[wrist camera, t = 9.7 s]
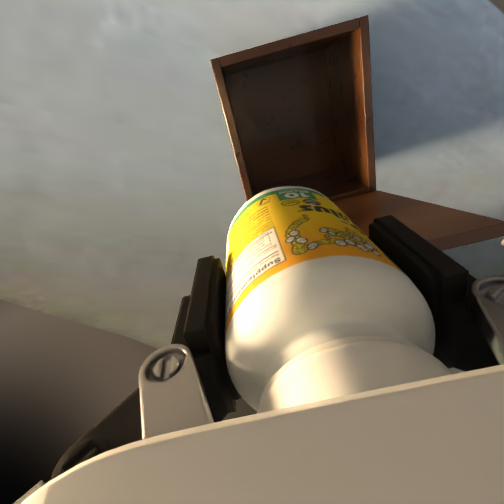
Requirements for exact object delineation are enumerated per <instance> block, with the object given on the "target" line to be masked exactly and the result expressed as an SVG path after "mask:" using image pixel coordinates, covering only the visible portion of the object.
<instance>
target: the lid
mask: <svg viewBox="0 0 504 504" xmlns="http://www.w3.org/2000/svg"><path fill="white" fill-rule="evenodd" d="M333 203H334V204H335V205H336V206H337V207H338V208H339V209H340V210H341V211H342V212H343V213H344V214H345V215H346V216H347V217H348V218H349V219H350V220H351V221H352V222H353V223H354V224H355V225H356V226H357V227H358V228H359V229H360V230H361V231H362V232H363V233H364V234H365V235H367V237H368V238H369V224H370V223H373V220H374V219H375V218H379V217H383V216H388V215H392V216H394V217H395V218H396V219H398V220H399V221H400V222H402V223H403V224H405V225H406V226H407V227H409V228H410V229H411V230H413V231H414V232H416V233H417V234H418V235H420V236H421V237H422V238H424V239H425V240H427V241H428V242H429V243H431V244H432V245H433V246H435V247H436V248H438V249H439V250H440V251H442V250H446V249H451V248H455V247H459V246H463V245H468V244H472V243H476V242H481V241H485V240H489V239H494V238H498V237H502V236H504V221H502V220H498V219H494V218H490V217H486V216H482V215H477V214H473V213H469V212H465V211H461V210H457V209H453V208H448V207H444V206H440V205H436V204H432V203H428V202H423V201H419V200H415V199H411V198H407V197H403V196H398V195H394V194H390V193H386V192H382V191H378V190H377V191H373V192H369V193H365V194H361V195H357V196H353V197H349V198H345V199H341V200H337V201H333Z"/></svg>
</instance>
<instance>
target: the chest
mask: <svg viewBox="0 0 504 504" xmlns="http://www.w3.org/2000/svg"><path fill="white" fill-rule="evenodd" d="M210 61H211V65H212V69H213V73H214V77H215V81H216V84H217V88H218V92H219V96H220V100H221V104H222V107H223V111H224V115H225V119H226V123H227V127H228V131H229V134H230V138H231V142H232V146H233V150H234V154H235V157H236V161H237V165H238V169H239V173H240V177H241V181H242V184H243V188H244V192H245V196H246V200H247V201H248V200H250V199H251V198H252V197H254V196H255V195H257V194H258V193H261V192H263V191H265V190H268V189H272V188H276V187H283V186H297V187H306V188H310V189H313V190H316V191H318V192H320V193H321V194H323V195H325V196H326V197H327V198H329V199H330V200H331V201H332V202H333V201H337V200H341V199H345V198H349V197H353V196H357V195H361V194H365V193H369V192H373V191H376V175H375V153H374V131H373V109H372V87H371V65H370V43H369V21H368V15H366V16H363V17H360V18H356V19H353V20H349V21H345V22H342V23H338V24H335V25H331V26H328V27H324V28H321V29H317V30H314V31H310V32H307V33H303V34H300V35H296V36H293V37H289V38H286V39H282V40H279V41H275V42H272V43H268V44H265V45H261V46H258V47H254V48H251V49H247V50H243V51H240V52H236V53H233V54H229V55H226V56H222V57H219V58H215V59H212V60H210Z"/></svg>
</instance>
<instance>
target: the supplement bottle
mask: <svg viewBox="0 0 504 504" xmlns="http://www.w3.org/2000/svg"><path fill="white" fill-rule="evenodd" d="M434 347H435V325H434V320H433V317H432V313H431V310H430V308H429V306H428V304H427V302H426V300H425V298H424V297H423V295H422V294H421V292H420V291H419V290H418V288H417V287H416V286H415V285H414V284H413V282H412V281H411V280H410V278H409V277H408V276H407V275H406V274H405V273H404V272H403V271H402V270H401V269H400V268H399V267H397V266H396V265H395V264H394V263H393V262H392V261H391V260H390V259H389V258H388V257H387V256H386V255H385V254H384V253H383V252H382V251H381V250H380V249H379V248H378V247H377V246H376V245H375V244H374V243H373V242H372V241H371V240H370V239H369V238H368V237H367V235H365V234H364V233H363V232H362V231H361V230H360V229H359V228H358V227H357V226H356V225H355V224H354V223H353V222H352V221H351V220H350V219H349V218H348V217H347V216H346V215H345V214H344V213H343V212H342V211H341V210H340V209H339V208H338V207H337V206H336V205H335V204H334V203H333V202H332V201H331V200H330V199H329V198H327V197H326V196H325V195H323V194H321V193H320V192H318V191H316V190H313V189H310V188H306V187H297V186H283V187H276V188H272V189H268V190H265V191H263V192H261V193H258V194H257V195H255V196H254V197H252V198H251V199H250V200H248V201H247V202H246V203H245V204H244V205H243V206H242V207H241V209H240V210H239V211H238V213H237V214H236V215H235V217H234V219H233V221H232V223H231V226H230V228H229V232H228V237H227V248H226V300H225V356H226V363H227V368H228V372H229V375H230V377H231V380H232V382H233V384H234V386H235V388H236V389H237V391H238V392H239V394H240V395H241V397H242V398H243V399H244V400H245V401H246V402H247V403H248V404H249V405H250V406H251V407H252V408H253V409H255V410H256V411H257V412H258V413H263V412H268V411H273V410H278V409H282V408H287V407H292V406H297V405H302V404H307V403H311V402H316V401H321V400H326V399H331V398H336V397H341V396H346V395H351V394H356V393H361V392H366V391H371V390H376V389H381V388H386V387H391V386H396V385H401V384H406V383H411V382H416V381H421V380H426V379H431V378H436V377H441V376H446V375H451V372H450V371H449V369H448V368H447V367H446V366H445V365H444V364H443V363H442V362H441V361H439V360H438V359H437V358H435V357H434V356H433V353H434ZM258 413H257V414H258Z"/></svg>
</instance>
